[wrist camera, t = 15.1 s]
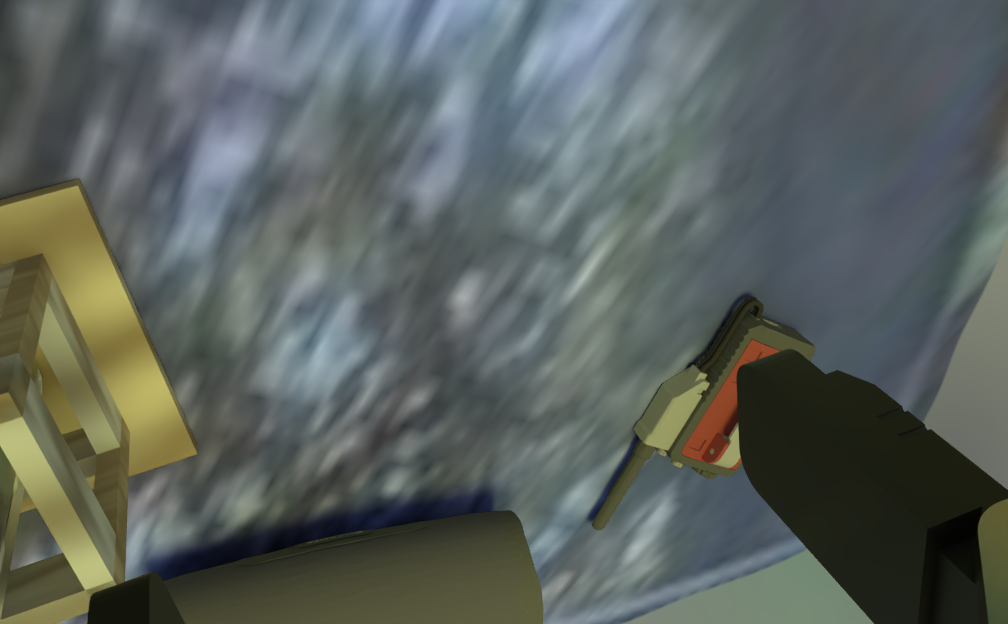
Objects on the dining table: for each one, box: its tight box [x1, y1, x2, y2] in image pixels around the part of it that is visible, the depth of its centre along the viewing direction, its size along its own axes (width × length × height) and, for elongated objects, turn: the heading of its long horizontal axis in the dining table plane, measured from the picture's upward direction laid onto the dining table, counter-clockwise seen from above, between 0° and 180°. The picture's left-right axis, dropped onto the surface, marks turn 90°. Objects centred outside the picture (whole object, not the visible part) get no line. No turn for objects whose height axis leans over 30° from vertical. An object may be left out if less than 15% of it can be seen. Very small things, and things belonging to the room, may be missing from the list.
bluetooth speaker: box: [163, 510, 543, 624], centre depth 57 cm, size 23×9×10 cm, turn 90°
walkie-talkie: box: [592, 297, 815, 530], centre depth 65 cm, size 9×4×20 cm
